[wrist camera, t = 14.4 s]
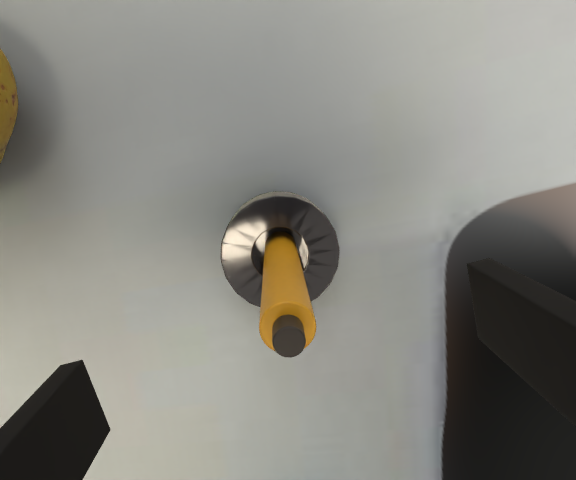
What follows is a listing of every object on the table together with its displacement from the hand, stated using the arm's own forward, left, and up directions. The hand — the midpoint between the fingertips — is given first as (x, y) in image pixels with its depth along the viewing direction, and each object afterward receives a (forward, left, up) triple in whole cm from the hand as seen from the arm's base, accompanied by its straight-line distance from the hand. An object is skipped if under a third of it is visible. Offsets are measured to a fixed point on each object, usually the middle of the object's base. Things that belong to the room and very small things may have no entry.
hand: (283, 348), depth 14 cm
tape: (0, 0, -16) cm, 16 cm away
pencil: (0, 0, -16) cm, 16 cm away
